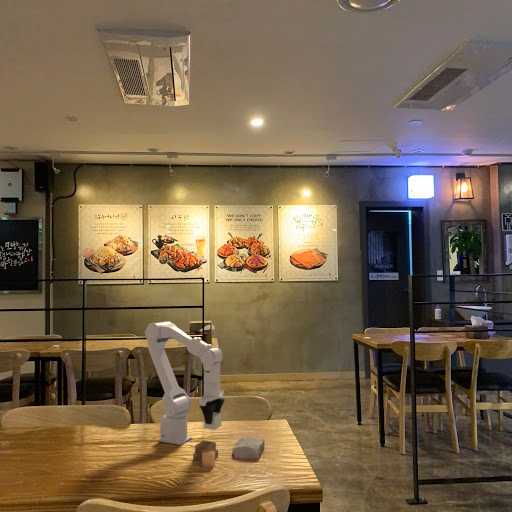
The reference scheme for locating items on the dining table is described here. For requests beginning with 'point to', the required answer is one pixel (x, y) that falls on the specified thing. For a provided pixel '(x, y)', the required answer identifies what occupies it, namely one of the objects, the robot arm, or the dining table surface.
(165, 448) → the dining table surface
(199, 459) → the walnut slab
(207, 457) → the tan rounded block
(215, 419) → the blue-grey cube
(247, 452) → the stone block
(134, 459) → the dining table surface
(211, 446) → the walnut block
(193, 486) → the dining table surface
